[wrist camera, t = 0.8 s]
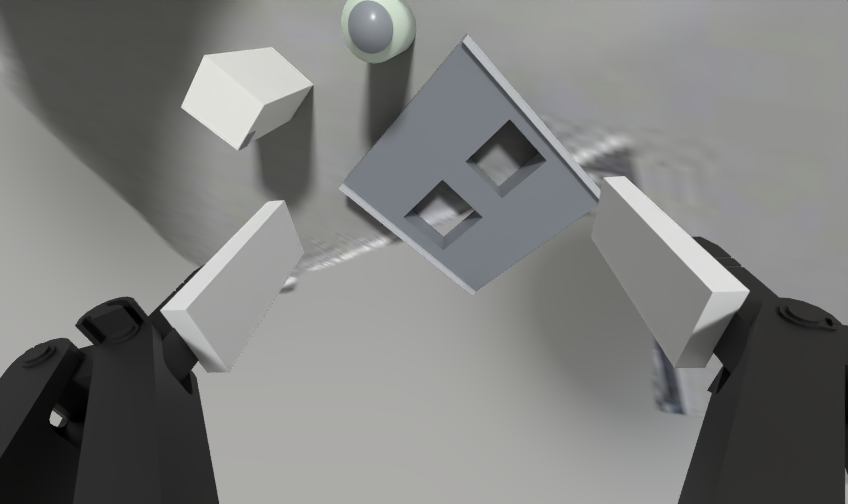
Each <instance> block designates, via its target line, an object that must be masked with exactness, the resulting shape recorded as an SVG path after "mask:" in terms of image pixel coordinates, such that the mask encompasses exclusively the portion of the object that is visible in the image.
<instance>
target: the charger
mask: <svg viewBox="0 0 848 504" xmlns="http://www.w3.org/2000/svg"><path fill="white" fill-rule="evenodd" d="M312 86H313V84H312V83H311V82H310V81H309V80H308V79H307V78H306V77H304V76H303V75H302V74H301V73H300V72H299V71H298V70H297V69H296V68H294V67H293V66H292V65H291V64H290V63H289V62H288V61H287V60H286V59H285V58H283V57H282V56H281V55H280V54H279V53H278V52H277V51H276V50H275V49H273V48H272V47H270V48H261V49H252V50H244V51H235V52H227V53H218V54H210V55H204V57H203V59H202V62H201V64H200V66H199V68H198V70H197V73H196V75H195V77H194V79H193V82H192V84H191V86H190V88H189V91H188V93H187V95H186V97H185V100H184V102H183V104H182V106H181V108H182V109H184V110H185V111H186V112H188V113H189V114H190V115H192V116H193V117H194V118H196V119H197V120H198V121H200V122H201V123H202V124H204V125H205V126H206V127H208V128H209V129H210V130H212V131H213V132H214V133H215V134H217V135H218V136H219V137H221V138H222V139H223V140H225V141H226V142H227V143H229V144H230V145H231V146H233V147H234V148H235V149H237V150H241V149H243V148H244V147H246V146H247V145H248V144H249V143H251V142H253V141H255V140H256V139H258V138H260V137H262V136H263V135H265V134H267V133H269V132H270V131H272V130H274V129H276V128H277V127H279V126H281V125H283V124H284V123H286V122H288V121H290V120H291V118H292V117H293V115H294V114H295V112H296V111H297V109H298V108H299V106H300V104H301V103H302V101H303V100H304V98H305V97H306V95H307V94H308V92H309V91H310V89H311V88H312Z"/></svg>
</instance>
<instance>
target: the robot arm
mask: <svg viewBox="0 0 848 504" xmlns="http://www.w3.org/2000/svg"><path fill="white" fill-rule="evenodd" d="M591 238H592V240H593V241H594V243H595V244H596V246H597V247H598V249H599V251H600V252H601V254H602V255H603V257H604V259H605V260H606V262H607V263H608V265H609V266H610V268H611V269H612V271H613V273H614V274H615V276H616V277H617V278H618V280H619V282H620V283H621V285H622V287H623V288H624V290H625V291H626V293H627V295H628V296H629V298H630V299H631V301H632V302H633V304H634V306H635V307H636V309H637V310H638V312H639V313H640V315H641V316H642V318H643V320H644V321H645V323H646V324H647V326H648V327H649V329H650V331H651V332H652V334H653V335H654V337H655V338H656V340H657V342H658V343H659V345H660V346H661V348H662V349H663V351H664V353H665V354H666V356H667V357H668V359H669V360H670V362H671V364H672V365H673V367H674V368H705V366H706V365H707V363H708V361H709V360H710V358H711V356H712V354H713V353H714V354H715V355H716V356H717V357H718V359H719V360H720V361H721V363H722V364H723V366H722V368H721V370H720V371H719V373H718V374H717V376H716V377H715V379H714V381H713V382H712V384H711V385H710V387H709V388H708V390H707V391H709V392H711V393H712V395H711V398H710V401H709V404H708V408H707V411H706V414H705V417H704V420H703V424H702V427H701V430H700V433H699V437H698V440H697V443H696V447H695V450H694V453H693V456H692V459H691V463H690V466H689V469H688V472H687V475H686V479H685V482H684V485H683V488H682V491H681V495H680V498H679V501H678V504H845V468H846V471H847V473H848V326H846V325H842V324H841V323H840V322H839V321H838V320H837V319H836V318H835V317H834V316H833V315H831V314H830V313H828V312H826V311H824V310H823V309H821V308H819V307H817V306H814V305H811V304H809V303H806V302H804V301H799V300H795V299H790V298H779V297H778V296H777V295H776V294H774V293H773V292H772V291H771V290H770V289H769V288H767V287H766V286H765V285H764V284H763V283H762V282H760V281H759V280H758V279H757V278H756V277H755V276H753V275H752V274H751V273H750V272H749V271H748V270H746V269H745V268H744V267H741V265H740V264H739V263H738V262H737V261H736V260H735V259H733V258H731V256H730V255H729V254H728V253H726V252H725V251H724V250H723V249H722V248H721V247H719V246H718V245H716V244H714V243H712V242H710V241H708V240H706V239H704V238H702V237H690V236H689V235H688V234H687V233H686V232H685V231H684V230H683V229H682V228H681V227H679V226H678V225H677V224H676V223H675V222H674V221H673V220H672V219H671V218H670V217H669V216H667V215H666V214H665V213H664V212H663V211H662V210H661V209H660V208H659V207H658V206H656V205H655V204H654V203H653V202H652V201H651V200H650V199H649V198H648V197H647V196H646V195H644V194H643V193H642V192H641V191H640V190H639V189H638V188H637V187H636V186H635V185H634V184H632V183H631V182H630V181H629V180H628V179H627V178H626V177H625V176H620V177H606V178H603V183H602V188H601V192H600V197H599V202H598V207H597V211H596V216H595V221H594V226H593V231H592V235H591ZM303 253H304V251H303V248H302V246H301V243H300V240H299V238H298V235H297V232H296V230H295V227H294V224H293V222H292V219H291V216H290V214H289V211H288V208H287V206H286V203H285V200H281V201H268V202H267V203H266V204H265V205H264V206H263V207H262V208H261V209H260V210H259V211H258V212H257V213H256V214H255V215H254V216H253V217H252V218H251V219H250V220H249V221H248V222H247V223H246V224H245V225H244V226H243V227H242V228H241V229H240V230H239V231H238V232H237V233H236V234H235V235H234V236H233V237H232V238H231V239H230V240H229V241H228V242H227V243H226V244H225V245H224V246H223V247H222V248H221V249H220V250H219V251H218V252H217V253H216V254H215V255H214V256H213V257H212V258H211V259H210V260H209V261H208V262H207V263H206V264H204V265H203V266H201V267H200V268H198V269H197V270H195V271H194V272H193V273H192V274H191V275H190V276H189V277H188V278H187V279H186V280H185V281H184V283H182V284H181V285H180V286H179V287H178V288H177V289H176V291H174V292H173V293H172V294H171V295H170V296H169V297H168V298H167V299H166V300H165V301H163V302H162V303H161V305H159V306H158V307H157V308H156V309H155V311H153V312H152V313H151V314H150V315H149V316H147V315H146V313H145V312H144V311H143V310H142V309H141V307H140V306H139V305H138V303H137V302H136V301H135V300H134V298H131V297H120V298H116V299H113V300H109V301H107V302H105V303H102V304H100V305H98V306H96V307H95V308H93V309H91V310H90V311H88V312H87V313H86V314H85V315H83V316H82V317H81V318H80V319H79V320H78V322H77V324H76V325H75V326H76V327H77V328H78V329H79V330H80V331H81V332H82V333H83V334H84V335H85V336H86V337H87V338H88V339H89V340H90V341H91V342H92V343H93V344H94V345H91V346H87V347H83V348H80V349H78V348H77V347H76V346H75V345H74V344H73V343H72V342H71V341H70V340H69V339H66V338H58V339H53V340H50V341H47V342H45V343H41V344H38V345H36V346H35V347H34V348H31V349H29V350H27V351H26V352H25V353H24V354H23V355H21V356H20V357H19V358H17V359H16V360H15V361H14V362H13V363H12V364H11V365H10V366H9V368H8V369H7V370H6V371H5V373H4V374H3V375H2V377H1V378H0V504H219V501H218V495H217V489H216V484H215V478H214V472H213V467H212V461H211V456H210V450H209V445H208V439H207V434H206V428H205V422H204V417H203V411H202V406H201V400H200V394H199V389H198V383H197V378H196V376H195V374H194V373H193V372H192V371H191V370H192V368H193V366H195V364H196V363H197V361H199V362H200V364H201V365H202V366H203V367H204V369H205V370H206V371H207V372H230V371H231V369H232V367H233V366H234V364H235V363H236V361H237V359H238V358H239V356H240V354H241V353H242V351H243V350H244V348H245V346H246V345H247V343H248V342H249V340H250V338H251V337H252V335H253V334H254V332H255V330H256V329H257V327H258V326H259V324H260V322H261V321H262V319H263V317H264V316H265V314H266V313H267V311H268V309H269V308H270V306H271V304H272V303H273V301H274V300H275V298H276V297H277V295H278V293H279V292H280V290H281V289H282V287H283V285H284V284H285V282H286V280H287V279H288V277H289V276H290V274H291V272H292V271H293V269H294V268H295V266H296V264H297V263H298V261H299V260H300V258H301V256H302V255H303ZM52 410H53V411H54V412H56V413H57V414H58V415H60V416H61V417H62V420H61V422H60V424H59V426H58V427H56V426H53V425H52V424H50V420H49V419H50V415H51V412H52Z"/></svg>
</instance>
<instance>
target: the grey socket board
mask: <svg viewBox="0 0 848 504" xmlns="http://www.w3.org/2000/svg"><path fill="white" fill-rule="evenodd" d="M509 119H510V120H511V121H512V122H513V123H514V124H515V126H516V127H517V128H518V129H519V130H520V131H521V132H522V133H523V135H524V136H525V137H526V138H527V139H528V140H529V141H530V142H531V144H532V145H533V146H534V147H535V148H536V149H537V150H538V151H539V152H538V153H537V154H536V155H535V156H534V157H533V158H532V159H530V160H529V161H528V162H527V163H526V164H525V165H523V166H522V167H521V168H520V169H519V170H518V171H516V172H515V173H514V174H513V175H512V176H511V177H509V178H508V179H507V180H506V181H505V182H504V183H502V184H501V185H500V186H498V185H497V184H496V183H495V182H494V181H493V180H492V179H491V178H490V177H489V176H488V175H487V174H486V173H485V172H484V171H483V170H482V169H481V168H480V167H479V166H478V165H477V164H476V163H475V162H474V161H473V160H472V159H471V158H470V157H471V156H472V155H473V154H474V153H475V152H476V151H477V150H478V149H479V148H480V147H481V146H482V145H483V144H484V143H485V142H486V141H487V140H488V139H489V138H491V137H492V136H493V135H494V134H495V133H496V132H497V131H498V130H499V129H500V128H501V127H502V126H503V125H504V124H505V123H506V122H507V121H508V120H509ZM441 180H443V181H444V182H445V183H447V184H448V185H449V186H450V187H451V188H452V189H453V190H454V191H455V192H456V193H457V194H458V195H459V196H460V197H462V198H463V199H464V200H465V201H466V202H467V203H468V204H469V205H470V206H471V207H472V208H473V209H474V210H475V211H474V212H472V213H471V214H470V215H469V216H468V217H467V218H465V219H464V220H463V221H462V222H461V223H460V224H458V225H457V226H456V227H455V228H454V229H452V230H451V231H450V232H449V233H448V234H447V235H445V236H444V237H443V236H442V235H441V234H440V233H438V232H437V231H436V230H435V229H434V228H433V227H432V226H430V225H429V224H428V223H427V222H426V221H425V220H423V219H422V218H421V217H420V216H419V215H418V214H416V213H415V212H414V211H413V210H412V208H413V207H414V206H416V205H417V204H418V203H419V202H420V201H421V200H422V199H423V198H424V197H425V196H426V195H427V194H428V193H429V192H430V191H431V190H432V189H433V188H434V187H435V186H436V185H437V184H438V183H439V182H440V181H441ZM338 189H340V190H341V191H342V192H343V193H345V194H346V195H347V196H348V197H350V198H351V199H352V200H353V201H355V202H356V203H357V204H358V205H360V206H361V207H362V208H363V209H365V210H366V211H367V212H368V213H370V214H371V215H372V216H373V217H375V218H376V219H377V220H378V221H380V222H381V223H382V224H383V225H384V226H386V227H387V228H388V229H389V230H391V231H392V232H393V233H394V234H396V235H397V236H398V237H399V238H401V239H402V240H403V241H404V242H406V243H407V244H408V245H409V246H411V247H412V248H413V249H414V250H416V251H417V252H418V253H419V254H421V255H422V256H423V257H424V258H426V259H427V260H428V261H429V262H430V263H432V264H433V265H434V266H436V267H437V268H438V269H439V270H441V271H442V272H443V273H444V274H445V275H447V276H448V277H449V278H450V279H452V280H453V281H454V282H455V283H457V284H458V285H459V286H460V287H462V288H463V289H464V290H465V291H467V292H468V293H469V294H470V295H472V296H473V295H475V294H476V291H477V290H479V289H480V288H481V287H483V286H484V285H486V284H487V283H488V282H490V281H491V280H493V279H494V278H495V277H497V276H498V275H500V274H501V273H503V272H504V271H505V270H507V269H508V268H510V267H511V266H512V265H514V264H515V263H517V262H518V261H520V260H521V259H522V258H524V257H525V256H527V255H528V254H530V253H531V252H532V251H534V250H535V249H537V248H538V247H540V246H541V245H542V244H544V243H545V242H547V241H548V240H549V239H551V238H552V237H553V236H555V235H557V234H558V233H559V232H561V231H562V230H564V229H565V228H567V227H568V226H569V225H571V224H572V223H574V222H575V221H576V220H578V219H579V218H581V217H582V216H584V215H585V214H586V213H588V212H589V211H591V210H592V209H594V208H595V207H596V206H598V202H599V197H600V192H601V190H600V189H599V188H598V187H597V186H596V185H595V183H594V182H593V181H592V180H591V179H590V177H589V176H588V175H587V174H586V173H585V172H584V170H583V169H582V168H581V167H580V166H579V165H578V163H577V162H576V161H575V160H574V159H573V157H572V156H571V155H570V154H569V153H568V152H567V150H566V149H565V148H564V147H563V146H562V145H561V143H560V142H559V141H558V140H557V139H556V137H555V136H554V135H553V134H552V133H551V132H550V130H549V129H548V128H547V127H546V126H545V125H544V123H543V122H542V121H541V120H540V119H539V117H538V116H537V115H536V114H535V113H534V112H533V110H532V109H531V108H530V107H529V106H528V105H527V103H526V102H525V101H524V100H523V99H522V98H521V96H520V95H519V94H518V93H517V92H516V90H515V89H514V88H513V87H512V86H511V85H510V83H509V82H508V81H507V80H506V79H505V78H504V76H503V75H502V74H501V73H500V72H499V70H498V69H497V68H496V67H495V66H494V65H493V63H492V62H491V61H490V60H489V59H488V58H487V56H486V55H485V54H484V53H483V52H482V50H481V49H480V48H479V47H478V46H477V45H476V43H475V42H474V41H473V40H472V39H471V38H470V36H469V35H468V34H466V35H465V37H464V38H463V39H462V40H461V41H460V42H459V44H458V45H457V46H456V47H455V48H454V50H453V51H452V52H451V53H450V54H449V56H448V57H447V58H446V59H445V60H444V62H443V63H442V64H441V65H440V66H439V68H438V69H437V70H436V71H435V72H434V73H433V75H432V76H431V77H430V78H429V79H428V81H427V82H426V83H425V84H424V85H423V87H422V88H421V89H420V90H419V91H418V93H417V94H416V95H415V96H414V97H413V99H412V100H411V101H410V102H409V103H408V104H407V106H406V107H405V108H404V109H403V110H402V112H401V113H400V114H399V115H398V116H397V118H396V119H395V120H394V121H393V122H392V124H391V125H390V126H389V127H388V128H387V129H386V131H385V132H384V133H383V134H382V135H381V137H380V138H379V139H378V140H377V141H376V143H375V144H374V145H373V146H372V147H371V149H370V150H369V151H368V152H367V153H366V155H365V156H364V157H363V158H362V159H361V160H360V162H359V163H358V164H357V165H356V166H355V168H354V169H353V170H352V171H351V172H350V174H349V175H348V176H347V177H346V179H345V180H344V182H343V183H342V184H341V186H340V187H339V188H338Z"/></svg>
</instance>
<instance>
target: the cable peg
mask: <svg viewBox="0 0 848 504" xmlns="http://www.w3.org/2000/svg"><path fill="white" fill-rule="evenodd" d="M341 28H342V34H343V37H344V40H345V42H346V44H347V46H348V48H349V49H350V50H351V52H352V53H353V54H354V55H355V56H356V57H358V58H359V59H361V60H363V61H365V62H368V63H381V62H384V61H386V60H388V59H390V58H392V57H394V56H396V55H398V54H400V53H402V52H404V51H406V50H407V49H408V48H409V47H410V46H411V44H412V42H413V40H414V38H415V34H416V21H415V18H414V15H413V13H412V11H411V9H410V8H409V7H408V6H407V5H406V4H405V3H404V2H402V1H400V0H348V1H347V2H346V4H345V6H344V9H343V12H342V18H341Z"/></svg>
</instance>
